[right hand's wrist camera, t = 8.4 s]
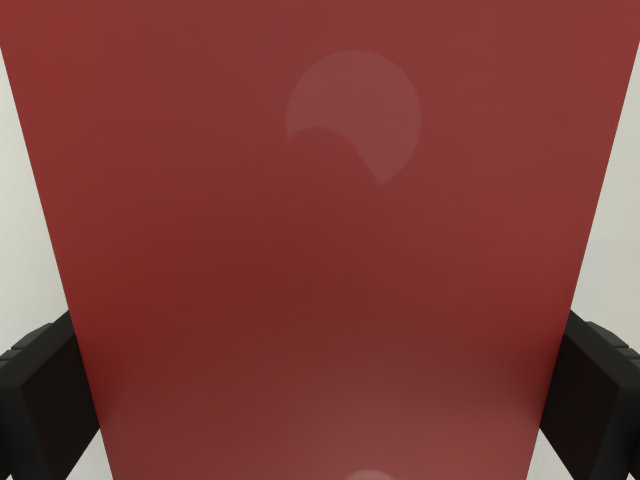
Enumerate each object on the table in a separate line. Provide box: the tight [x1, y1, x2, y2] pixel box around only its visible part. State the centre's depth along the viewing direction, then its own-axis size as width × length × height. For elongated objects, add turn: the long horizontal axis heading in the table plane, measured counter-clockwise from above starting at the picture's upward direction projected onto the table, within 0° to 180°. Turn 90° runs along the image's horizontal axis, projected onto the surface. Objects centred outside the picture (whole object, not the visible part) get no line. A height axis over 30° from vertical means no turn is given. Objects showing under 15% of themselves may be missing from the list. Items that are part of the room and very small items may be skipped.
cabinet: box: [0, 0, 640, 480], centre depth 13 cm, size 17×11×11 cm, turn 0°
